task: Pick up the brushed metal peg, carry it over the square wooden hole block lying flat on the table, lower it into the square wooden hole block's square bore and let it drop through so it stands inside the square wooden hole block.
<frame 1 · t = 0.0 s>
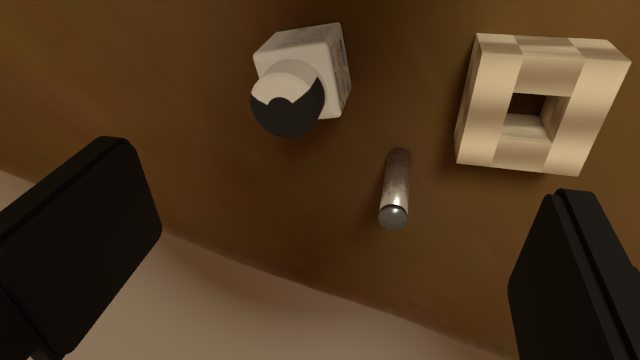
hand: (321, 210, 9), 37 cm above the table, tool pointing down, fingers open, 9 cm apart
peg: (399, 157, 51), on the table
container: (314, 59, 46), on the table
square wooden hole block: (521, 92, 43), on the table
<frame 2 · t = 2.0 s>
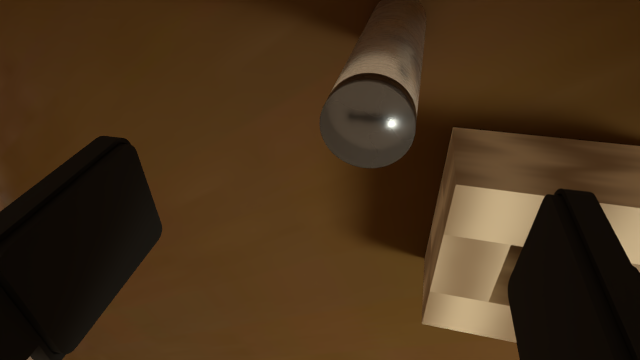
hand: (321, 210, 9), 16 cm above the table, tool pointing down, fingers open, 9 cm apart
peg: (398, 23, 22), on the table
square wooden hole block: (527, 213, 27), on the table
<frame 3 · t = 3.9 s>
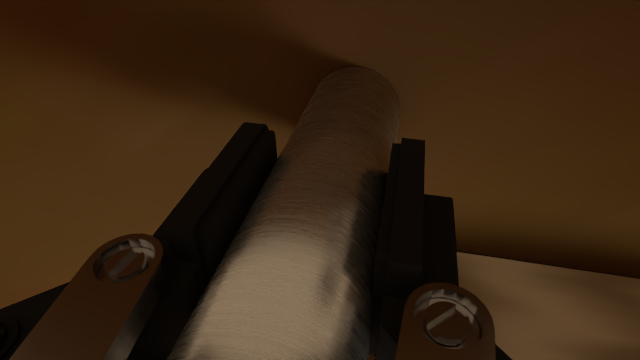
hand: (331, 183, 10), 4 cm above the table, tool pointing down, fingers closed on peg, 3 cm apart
peg: (355, 109, 13), on the table, touching gripper
square wooden hole block: (553, 357, 19), on the table
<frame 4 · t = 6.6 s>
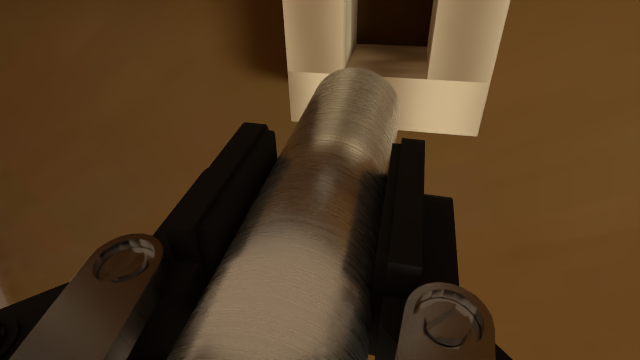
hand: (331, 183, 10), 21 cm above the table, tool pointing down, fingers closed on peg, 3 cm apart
peg: (355, 110, 13), point 17 cm above the table, touching gripper
square wooden hole block: (394, 8, 27), on the table
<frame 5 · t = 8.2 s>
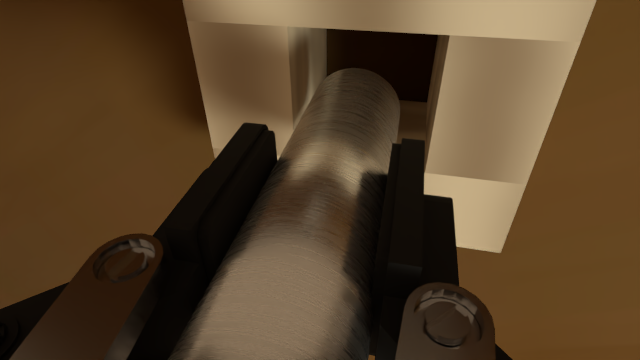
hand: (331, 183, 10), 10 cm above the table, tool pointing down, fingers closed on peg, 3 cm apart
peg: (355, 110, 13), point 6 cm above the table, touching gripper
square wooden hole block: (379, 48, 18), on the table
when the fingers open (8 cm above the table, at t = 9.3 s): peg drops 3 cm, resting in square wooden hole block.
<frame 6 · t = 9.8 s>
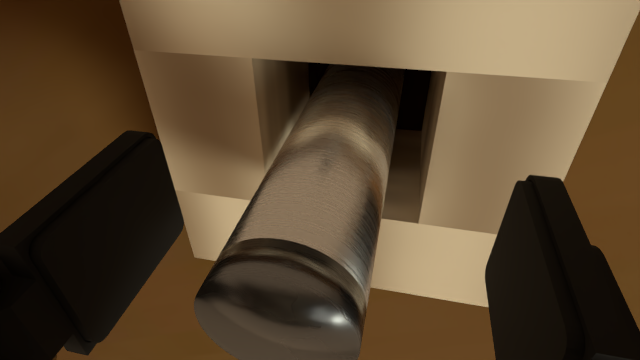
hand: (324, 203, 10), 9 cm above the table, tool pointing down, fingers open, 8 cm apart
peg: (367, 72, 16), resting in square wooden hole block
square wooden hole block: (367, 71, 16), on the table
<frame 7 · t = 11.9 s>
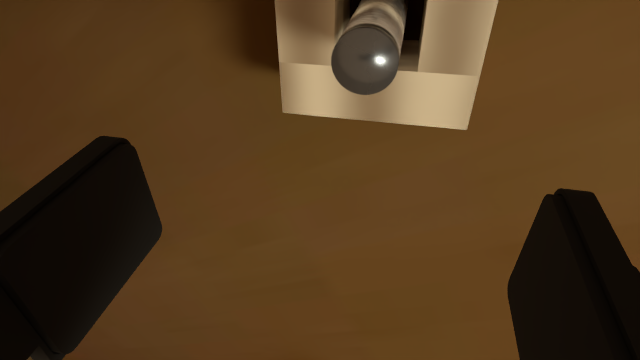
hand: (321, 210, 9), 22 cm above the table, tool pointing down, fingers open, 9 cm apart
peg: (386, 1, 27), resting in square wooden hole block
square wooden hole block: (386, 1, 27), on the table
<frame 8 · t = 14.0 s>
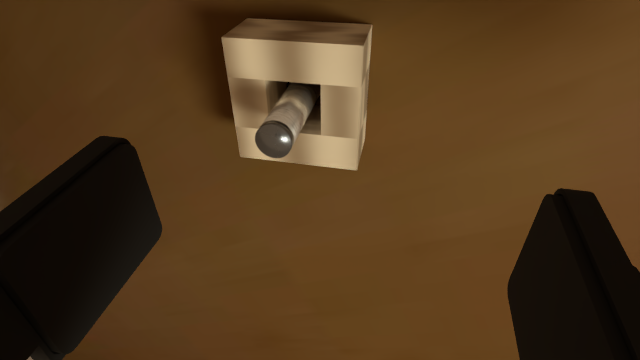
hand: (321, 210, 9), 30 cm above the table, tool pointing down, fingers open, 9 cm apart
peg: (309, 82, 40), resting in square wooden hole block
square wooden hole block: (309, 82, 40), on the table
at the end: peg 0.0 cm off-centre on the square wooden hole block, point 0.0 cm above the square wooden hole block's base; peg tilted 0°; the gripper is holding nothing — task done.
